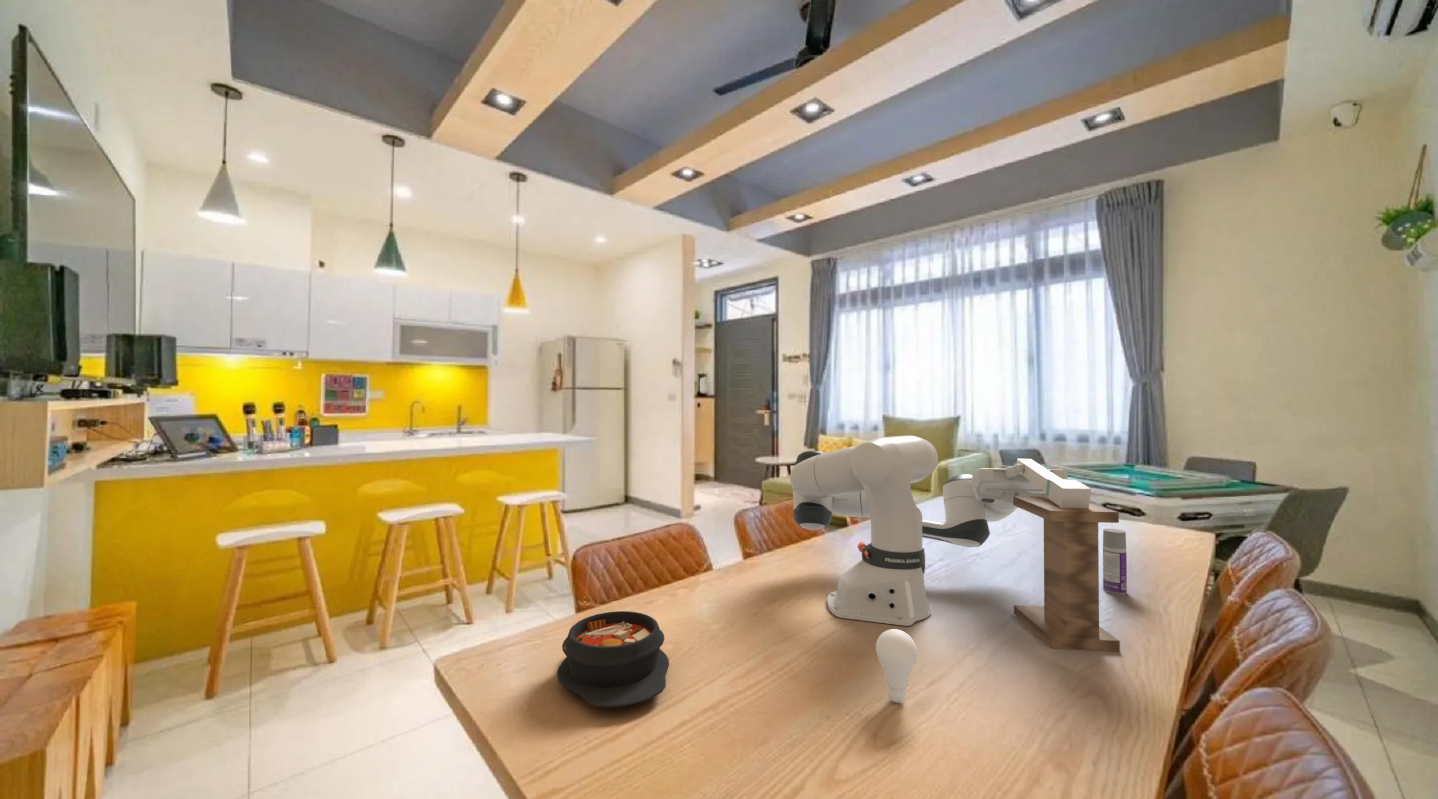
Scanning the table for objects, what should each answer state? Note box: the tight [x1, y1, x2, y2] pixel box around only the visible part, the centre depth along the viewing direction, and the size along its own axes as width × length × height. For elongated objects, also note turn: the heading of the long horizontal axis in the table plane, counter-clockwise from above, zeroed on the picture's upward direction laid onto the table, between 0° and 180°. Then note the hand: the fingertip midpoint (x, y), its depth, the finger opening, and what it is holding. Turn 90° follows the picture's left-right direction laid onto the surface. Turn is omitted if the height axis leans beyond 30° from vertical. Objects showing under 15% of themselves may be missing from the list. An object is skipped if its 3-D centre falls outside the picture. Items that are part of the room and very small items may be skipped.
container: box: [1102, 528, 1128, 596], centre depth 129 cm, size 5×5×15 cm
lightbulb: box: [875, 628, 918, 704], centre depth 81 cm, size 6×6×11 cm
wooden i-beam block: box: [1013, 495, 1121, 653], centre depth 106 cm, size 12×16×26 cm
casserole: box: [556, 610, 670, 709], centre depth 89 cm, size 25×19×8 cm
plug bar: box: [1016, 458, 1092, 508], centre depth 112 cm, size 5×22×4 cm, turn 173°
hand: (1031, 467), depth 119 cm, fingers closed on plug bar, 3 cm apart
